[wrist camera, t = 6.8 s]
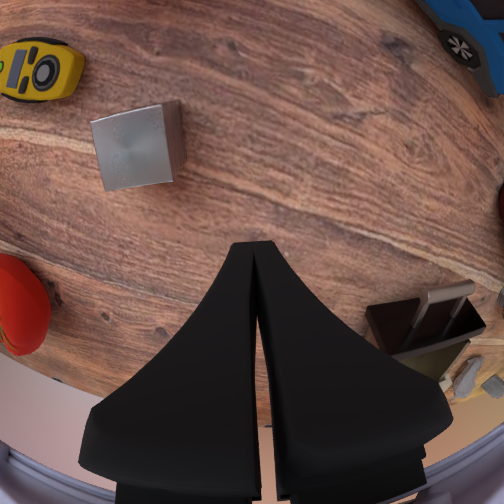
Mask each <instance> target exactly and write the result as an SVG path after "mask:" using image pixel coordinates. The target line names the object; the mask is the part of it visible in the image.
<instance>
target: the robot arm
mask: <svg viewBox="0 0 504 504" xmlns="http://www.w3.org/2000/svg"><path fill="white" fill-rule="evenodd" d="M257 318H258V323H259V329H260V334H261V340H262V345H263V351H264V356H265V362H266V367H267V373H268V381H269V392H270V405H271V418H272V431H273V445H274V460H275V475H276V491H277V501H286V500H290V503H291V504H390V503H392V502H395V501H398V500H400V499H403V498H405V497H408V496H410V495H412V494H415V493H417V492H418V494H417V496H416V498H415V499H412V500H409V501H405V502H402V503H398V504H504V422H503V423H501V424H500V425H499V426H497V427H496V428H494V429H493V430H492V431H491V432H489V433H488V434H486V435H485V436H483V437H481V438H480V439H478V440H477V441H475V442H474V443H472V444H470V445H468V446H467V447H465V448H463V449H462V450H460V451H458V452H456V453H454V454H453V455H451V456H449V457H447V458H445V459H443V460H441V461H439V462H437V463H435V464H433V465H431V466H428V467H426V468H423V464H422V460H421V459H423V458H425V457H426V452H425V448H424V444H425V443H427V442H428V441H430V440H432V439H433V438H435V437H436V436H437V435H439V434H440V433H442V432H443V431H444V430H446V429H447V428H448V427H449V426H450V425H451V423H452V421H453V416H452V413H451V410H450V407H449V404H448V402H447V399H446V396H445V394H444V392H443V390H442V388H441V386H440V385H439V383H438V382H437V381H435V380H433V379H431V378H429V377H427V376H425V375H423V374H421V373H419V372H417V371H416V370H414V369H412V368H410V367H408V366H406V365H404V364H402V363H401V362H399V361H397V360H396V359H394V358H392V357H391V356H389V355H388V354H386V353H384V352H383V351H381V350H380V349H378V348H377V347H375V346H374V345H373V344H371V343H370V342H368V341H367V340H366V339H364V338H363V337H362V336H360V335H359V334H357V333H356V332H355V331H353V330H352V329H351V328H350V327H348V326H347V325H346V324H345V323H344V322H342V321H341V320H340V319H339V318H338V317H337V316H336V315H334V314H333V313H332V312H331V311H330V310H329V309H328V308H327V307H326V306H325V305H324V304H323V303H322V302H321V301H320V300H319V299H318V298H317V297H316V296H315V295H314V294H313V293H312V292H311V291H310V290H309V289H308V287H307V286H306V285H305V284H304V283H303V282H302V280H301V279H300V278H299V277H298V276H297V274H296V273H295V272H294V271H293V269H292V268H291V267H290V265H289V264H288V263H287V261H286V260H285V259H284V257H283V256H282V254H281V253H280V251H279V250H278V248H277V246H276V245H275V243H274V242H273V241H272V240H270V241H253V242H237V243H233V244H232V245H231V247H230V250H229V252H228V255H227V257H226V259H225V261H224V263H223V265H222V267H221V269H220V271H219V273H218V275H217V277H216V278H215V280H214V282H213V284H212V285H211V287H210V288H209V290H208V292H207V293H206V295H205V296H204V298H203V299H202V301H201V302H200V304H199V305H198V307H197V308H196V309H195V311H194V312H193V313H192V315H191V316H190V317H189V319H188V320H187V321H186V322H185V324H184V325H183V326H182V327H181V329H180V330H179V331H178V332H177V333H176V334H175V335H174V336H173V338H172V339H171V340H170V341H169V342H168V343H167V344H166V345H165V346H164V348H163V349H162V350H161V351H160V352H159V353H158V354H157V355H156V356H155V357H154V358H152V359H151V360H150V361H149V362H148V363H147V364H146V365H145V366H144V367H143V368H142V369H141V370H139V371H138V372H137V373H136V374H135V375H134V376H133V377H132V378H131V379H129V380H128V381H127V382H126V383H125V384H123V385H122V386H121V387H119V388H118V389H117V390H115V391H114V392H113V393H111V394H110V395H109V396H108V397H106V398H105V399H104V400H102V401H101V402H100V403H98V404H97V405H95V406H94V407H92V408H91V411H90V414H89V417H88V419H87V422H86V426H85V430H84V435H83V439H82V445H81V449H80V454H79V460H78V463H79V464H80V466H81V467H83V468H84V469H86V470H88V471H90V472H92V473H95V474H97V475H99V476H102V477H105V478H107V479H110V480H112V481H115V482H117V485H116V492H114V491H110V490H107V489H104V488H101V487H98V486H95V485H92V484H89V483H86V482H83V481H80V480H78V479H75V478H72V477H70V476H67V475H65V474H63V473H60V472H58V471H56V470H53V469H51V468H49V467H47V466H45V465H43V464H41V463H38V462H37V461H35V460H33V459H31V458H29V457H27V456H26V455H24V454H22V453H20V452H18V451H17V450H15V449H13V448H11V447H10V446H9V445H7V444H6V443H4V442H3V441H1V440H0V504H252V501H260V500H262V499H261V488H262V485H261V471H260V456H259V441H258V425H257V409H256V393H255V354H256V327H257Z"/></svg>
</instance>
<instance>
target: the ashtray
mask: <svg viewBox="0 0 504 504" xmlns="http://www.w3.org/2000/svg"><path fill="white" fill-rule="evenodd" d="M499 209H500V212H501V216H502V220H503V223H504V184H503V186H502V188H501V190H500V194H499Z"/></svg>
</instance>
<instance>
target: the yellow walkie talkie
mask: <svg viewBox="0 0 504 504" xmlns="http://www.w3.org/2000/svg"><path fill="white" fill-rule="evenodd" d="M84 62H85V59H84V56H83V55H82V54H81V53H79V52H78V51H76V50H74V49H72V48H70V47H68V46H67V43H65V42H62V41H59V40H56V39H52V38H45V37H32V38H25V39H20V40H17V41H16V42H13V43H12V44H10V45H8V46H5V47H3V48H2V49H0V92H2V95H3V96H5V97H6V98H8V99H11V100H14V101H17V102H23V103H41V102H45V101H48V100H52V99H59V98H64V97H67V96H70V95H72V93H73V92H74V91H75V89H76V87H77V85H78V83H79V80H80V77H81V74H82V71H83V67H84Z"/></svg>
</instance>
